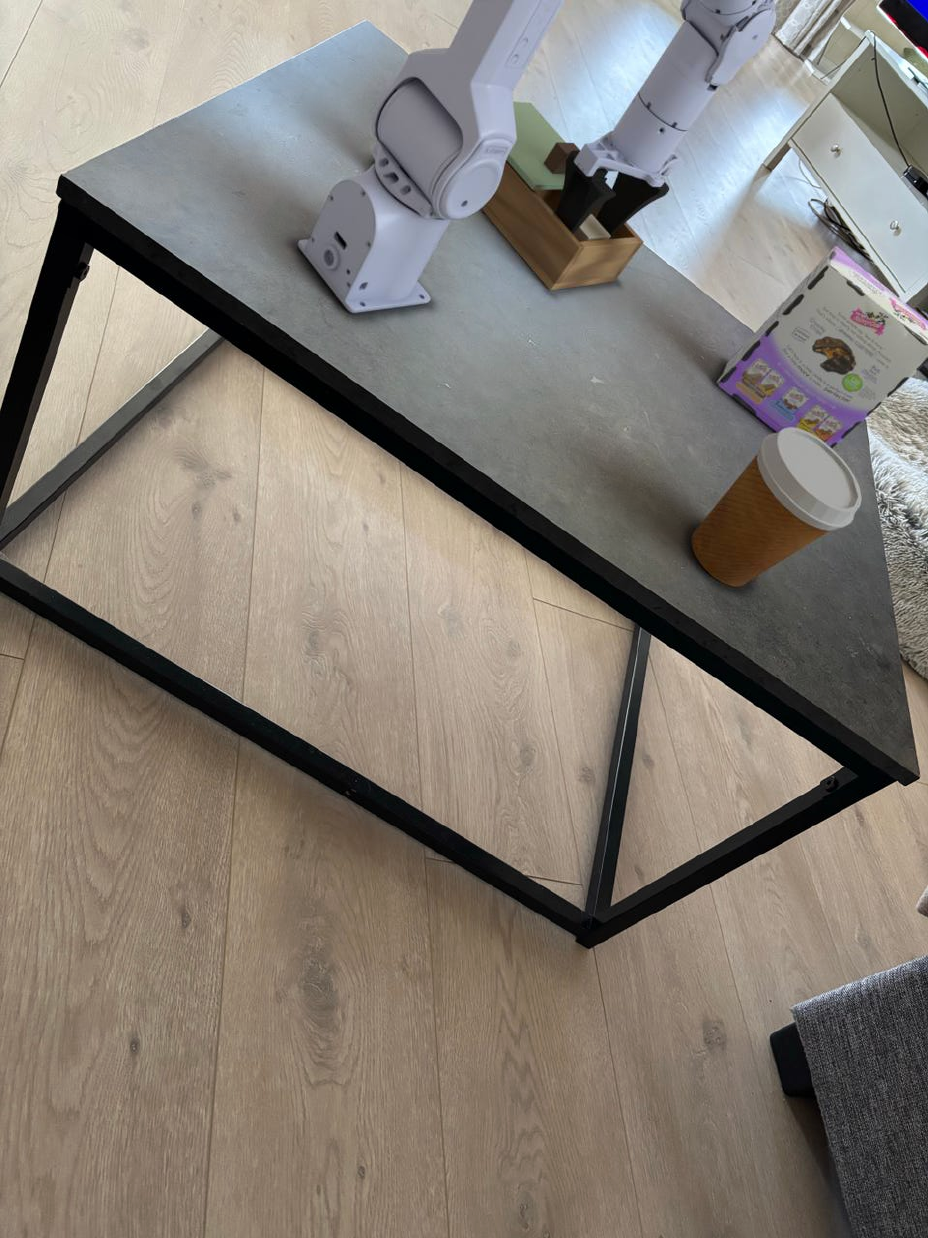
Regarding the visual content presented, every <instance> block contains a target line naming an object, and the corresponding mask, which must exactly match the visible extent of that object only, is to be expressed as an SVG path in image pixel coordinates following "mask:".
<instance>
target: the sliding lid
mask: <svg viewBox="0 0 928 1238" xmlns="http://www.w3.org/2000/svg"><path fill="white" fill-rule="evenodd" d="M513 108H514V115H515V123H516V134H517V140H516V142H515V144H514V146H513V147H512V149H511V151H510V153H509V154H508V157H507V159H506V160H507V161H508V162H509V163H510V164H511V165H512V167H513V168H514V169H515V170H516V171H517V172H518V174H519V175H520V176H521V177H522V178H523V179H524V180H525V182H526V183H527V184H528V185H529V186H530V187H531V189H532V190H552V189H563V185H564V179H565V169H566V158H567V157H568V155H569V153H570V152H571V151H573V150H576V151H581V149H580V148H579V147H578V146H577V145H576V143H575V142H567V141H565V140H564V138H563V137H562V136H561V135H560V134H559V133H558V132H557V130H555V128H554V127H553V126H552V125H551V124H550V123H549V122H548V121H547V119H546V118H545V117H544V116H543V114H542V113H541V112H540V111H538V109H537V108H536V107H535V106H534V105H533V103H531V102H524V101H514V100H513Z"/></svg>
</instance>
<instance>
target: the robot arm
mask: <svg viewBox="0 0 928 1238" xmlns="http://www.w3.org/2000/svg"><path fill="white" fill-rule="evenodd" d="M565 2H566V0H472V2H471V4H470V6H469V7H468V10H467V12H466V14H465V15H464V17H463V20H462V22H461V24H460V26H459V27H458V29H457V31H456V34H455V35H454V37H453V39H452V42H451V43H450V45H449V47H438V48H437V47H436V48H435V47H434V48H426V49H421V50H417V51H413V52H411V53H409V55H408V57H407V59H406V61H405V63H404V65H403V67H402V68H401V70H400V72H399V73H398V75H397V76H396V77H395V78H394V79H393V80H392V82H390V83H389V84H388V85H387V86H386V88H384V90H383V91H382V93H381V94H380V96H379V97H378V98H377V101H376V103H375V106H374V108H373V111H372V114H371V119H370V120H371V121H370V126H371V131H372V134H373V136H374V138H375V139H376V142H375V144H374V145H373V148H372V150H371V155H372V156H373V159H374V161H375V162H374V163H373V164H372V165H371V166H370V167H369V168H368V169H367V170H366V171H364V172H363V173H361V174H360V175H357V176H354V177H350V178H347V179H343V180H341V181H339V182H338V183H336V184H335V185H334V186H333V187H332V188H331V190H330V191H329V193H328V195H327V198H326V199H325V202H324V204H323V207H322V209H321V211H320V213H319V216H318V217H317V220H316V223H315V225H314V227H313V229H312V232H311V233H310V236H309V238H306V239H300V240H299V241H298V243H297V247H298V249H299V250H300V251H301V252H302V253H303V255H304V256H305V258H306V259H307V260H308V261H309V263H310V264H311V265H312V266H313V268H314V269H315V271H316V272H317V273H318V274H319V276H320V277H321V278H322V280H324V282H325V283H326V284H327V286H328V287H329V288H330V289H331V291H332V293H334V295H335V296H336V297H337V299H338V300H339V301H340V303H342V305H343V306H344V307H345V309H346V310H347V311H348V312H350V313H352V314H357V313H365V312H372V311H380V310H387V309H394V308H395V309H396V308H401V307H402V308H403V307H410V306H416V305H424V304H429V302H430V301H431V296H430V294H429V293H428V292H427V291H426V289H425V288H424V287H423V285H421V283H420V282H419V281H418V280H419V279H420V277H421V275H422V273H423V271H424V269H425V268H426V266H427V264H428V262H429V261H430V259H431V257H432V256H433V253H434V252H435V251H436V248H437V247H438V245H439V243H440V241H441V240H442V237H443V236H444V234H445V232H446V231H447V229H448V227H449V225H450V223H451V221H458V220H462V219H465V218H467V217H470V216H472V215H474V214H475V213H476V212H478V211H480V210H482V209H481V208H482V207H483V206H484V205H485V204H486V203H487V202H488V201H489V200H490V199H491V197H492V196H493V195H494V193H495V191H496V190H497V188H498V186H499V183H500V181H501V177H502V174H503V170H504V165H505V162H506V159H507V157H508V154H509V153H510V151H511V149H512V147H513V146H514V144H515V142H516V140H517V134H516V123H515V115H514V108H513V101H514V100H513V99H514V98H513V95H514V94H513V93H514V91H515V89H516V87H518V86H517V85H518V84H519V82H520V80H521V79H522V77H523V75H524V74H525V71H526V70H527V68H528V66H529V65H530V63H531V61H532V60H533V58H534V56H535V54H536V53H537V51H538V49H539V47H540V46H541V44H542V42H543V40H544V39H545V36H546V34H547V33H548V31H549V30H550V28H551V27H552V24H553V23H554V21H555V20H556V18H557V16H558V15H559V12H560V11H561V9H562V7H563V6H564V4H565ZM775 10H776V2H775V0H681V3H680V7H679V12H680V13H681V17H682V20H683V21H684V22H683V23H682V24H681V25H680V27H679V28H678V30H677V31H676V33H675V34H674V36H673V37H672V39H671V40H670V42H669V44H668V45H667V47H666V48H665V50H664V51H663V53H662V55H661V56H660V57H659V59H658V61H657V62H656V64H655V66H654V67H653V68H652V70H651V72H650V73H649V74H648V76H647V78H646V79H645V81H644V82H643V84H642V85H641V87H640V88H639V90H638V91H637V93H636V94H635V96H634V97H633V99H632V101H630V104H629V105H628V107H627V108H626V109H625V111H624V112H623V114H622V116H621V117H620V119H619V120H618V122H617V124H616V125H615V126H614V128H613V130H611V131H608V132H607V133H606V134H604V135H603V136H601V137H600V138H598V139H596V140H595V141H593V142H590V143H589V142H588V143H584V144H583V146H582V147H581V149H580V151H576V150H573V151H571V152H570V153H569V155H568V157H567V158H566V169H565V179H564V185H563V190H562V194H561V197H560V200H559V203H558V206H557V209H556V212H555V214H556V216H557V217H558V218H559V219H560V220H561V221H562V223H563V224H564V225H565V226H566V227H567V228H568V229H569V231H570V232H571V233H572V234H574V233H575V232H576V231H577V229H578V228H579V227H580V226H581V225H582V223H583V222H584V221H585V220H586V219H587V218H588V216H589V215H590V214H591V213H592V212H593V211H594V210H596V209H597V208H598V207H599V206H600V205H602V204H603V203H604V204H603V206H602V207H601V209H600V211H599V213H598V215H597V217H596V220H597V221H598V222H599V223H600V224H601V225H602V226H603V228H604V229H605V230H606V231H607V232H608V233H609V234H610V235H612V234H613V233H614V232H616V231H617V230H618V229H619V228H620V227H621V226H622V225H624V224H625V223H626V222H627V223H628V221H629V220H630V219H632V218H633V217H634V216H635V215H636V214H638V213H639V212H640V211H641V210H643V209H644V208H645V207H647V206H649V205H650V204H652V203H654V202H656V201H657V200H659V199H661V198H664V197H665V196H666V195H667V194H668V193H669V192H670V186H669V185H668V183H666V179H665V178H664V177H669V176H670V174H671V173H672V172H673V171H674V169H675V168H676V166H677V165H678V164H679V162H680V159H679V157H678V156H677V155H676V154H675V153H674V151H675V149H676V147H677V146H678V145H679V143H680V142H681V140H683V138H684V136H685V135H686V133H687V132H688V131H689V129H690V128H691V127H692V125H693V124H694V123H695V122H696V120H697V118H698V117H699V115H700V114H701V113H702V112H703V110H704V108H705V107H707V105H708V103H709V102H710V100H711V99H712V97H713V96H714V95H715V93H716V92H717V91H718V89H719V88H720V86H726V85H727V84H728V83H730V81H732V80H733V79H734V77H735V76H736V74H737V73H738V72H739V71H740V70H741V68H742V67H743V66H744V65H745V64H747V63H748V62H749V61H750V60H752V58H754V57H755V56H756V55H757V54H758V52H760V50H762V48H763V47H764V46H765V45H766V43H767V42H768V41H769V37H770V35H771V34H772V32H773V30H774V27H775V25H776V22H777V13H776V11H775ZM609 172H617V174H616V177H615V180H614V182H613V185H612V187H610V186H609V184H608V183H607V180H608V178H607V175H608V174H609Z"/></svg>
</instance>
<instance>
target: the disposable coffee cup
mask: <svg viewBox="0 0 928 1238" xmlns="http://www.w3.org/2000/svg"><path fill="white" fill-rule="evenodd" d="M756 453H757V454H756V455H755V456H754V457H753V459H752V460H751V461H750V463H748V464H747V466H745V468H744V470H742V472H741V473H740V474H739V476H738V477H737V478H736V479H735V481H734V482H733V483H732V485H731V486H730V487H729V488H728V490H726V492H725V493H724V495H722V497H721V498H720V500H719V501H718V502H717V503H716V505H715V506H714V507H713V508H712V510H711V511H710V512H709V513H708V515H706V516H705V517H704V519H703V521H702V522H701V523H700V524H699V526H698V527H697V528H696V529H695V530H694V531H693V533H692V535H691V548H692V551H693V553H694V555H695V557H696V559H697V561H698V562H699V564H700V565H701V566H702V567H703V569H704V570H705V571H706V572H707V573H709V575H711V576H712V577H713V578H714V579H716V581H719V582H721V583H722V584H725V585H727V586H730V587H742V586H744V585H746V584H747V583H749V582H750V581H751V580H753V579H755V578H757V577H758V576H760V575H761V574H763V573H765V572H766V571H768V570H770V569H771V568H772V567H774V566H776V565H778V564H779V563H780V562H783V561H784V560H786V559H787V558H789V557H791V556H792V555H794V554H795V553H797V552H798V551H800V550H802V549H803V548H805V547H808V545H810V544H811V543H813V542H815V541H816V540H818V539H820V538H821V537H823V536H824V535H825V534H827V533H829V532H831V531H837V530H838V529H843V528H844V527H847V526H849V525H850V524H852V522H853V520H854V519H855V513H856V512H857V511H858V510H859V508H860V507H861V505H862V499H863V498H862V497H863V496H862V491H861V488H860V485H859V482H858V479H857V478H856V476H855V474H854V473H853V471H852V470H851V468H850V467H849V466H848V465H847V463H846V462H845V460H844V459H843V458H842V457H841V456H840V455H839V454H838V453H837V452H836V451H835V450H834V448H833V449H832V448H831V447H830V446H828V445H827V444H826V443H825V442H823V441H822V440H821V439H819V438H818V437H816V436H814V435H813V434H811V433H809V432H807V431H805V430H802V429H799V428H793V427H789V428H785V429H783V430H781V431H779V432H778V433H777V432H774V433H770V434H768V435H766V436H764V438H763V440H762V441H761V443H760V446H759V449H758V450H757V452H756Z"/></svg>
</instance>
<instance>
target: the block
mask: <svg viewBox="0 0 928 1238" xmlns="http://www.w3.org/2000/svg"><path fill="white" fill-rule="evenodd" d="M573 235H574V236H575V238H576V239H577V240H578V241H579V242H584V241H596V240H608V239H609V238H610V237H611V235H610V234H609V233H608V232H607V231H606V230H605V229H604V228H603V226H602V225H601V224H600V223H599V222H598V221H597V220H596V218H595V217H594V216H593V215H592V214H590V215H589V216H588V218H587V219H586V220H585V221H584V222H583V223H582V225H581V226H580V227H579V228H578V229H577V231H576V232H575V233H574V234H573Z"/></svg>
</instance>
